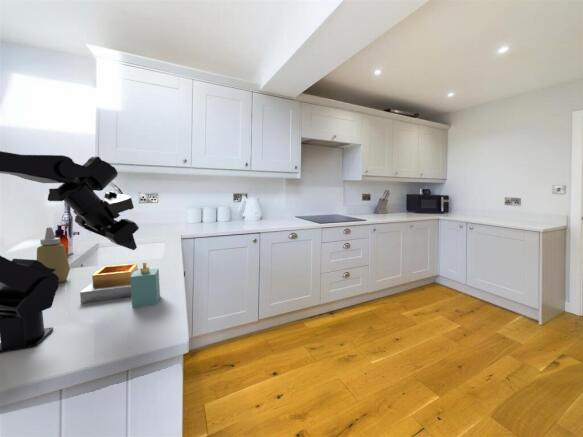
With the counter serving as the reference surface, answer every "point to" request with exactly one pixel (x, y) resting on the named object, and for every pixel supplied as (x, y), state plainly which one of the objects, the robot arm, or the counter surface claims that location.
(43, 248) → the squeeze bottle
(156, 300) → the oil can
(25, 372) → the counter surface
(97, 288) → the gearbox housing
